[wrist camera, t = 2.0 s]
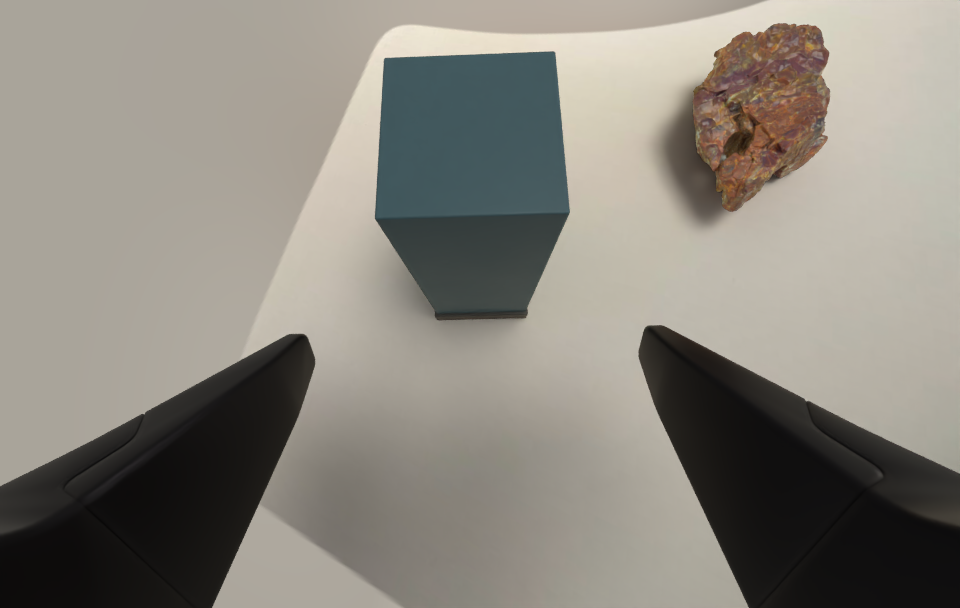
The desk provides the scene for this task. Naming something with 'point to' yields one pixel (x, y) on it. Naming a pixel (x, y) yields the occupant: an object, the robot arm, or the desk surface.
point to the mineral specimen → (762, 108)
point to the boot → (472, 177)
